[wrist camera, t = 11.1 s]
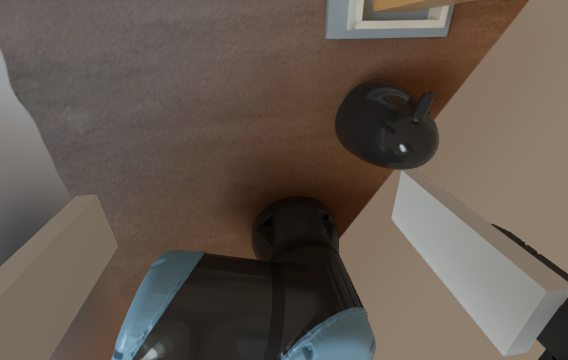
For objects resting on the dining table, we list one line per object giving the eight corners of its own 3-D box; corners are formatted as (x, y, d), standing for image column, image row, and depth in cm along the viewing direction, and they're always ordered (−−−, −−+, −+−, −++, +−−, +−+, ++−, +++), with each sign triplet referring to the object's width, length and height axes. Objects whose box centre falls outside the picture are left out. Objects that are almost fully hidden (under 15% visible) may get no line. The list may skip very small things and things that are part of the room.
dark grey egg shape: (402, 73, 36) (492, 92, 23) (388, 144, 41) (456, 193, 28) (330, 74, 35) (382, 95, 22) (325, 147, 40) (364, 200, 27)
